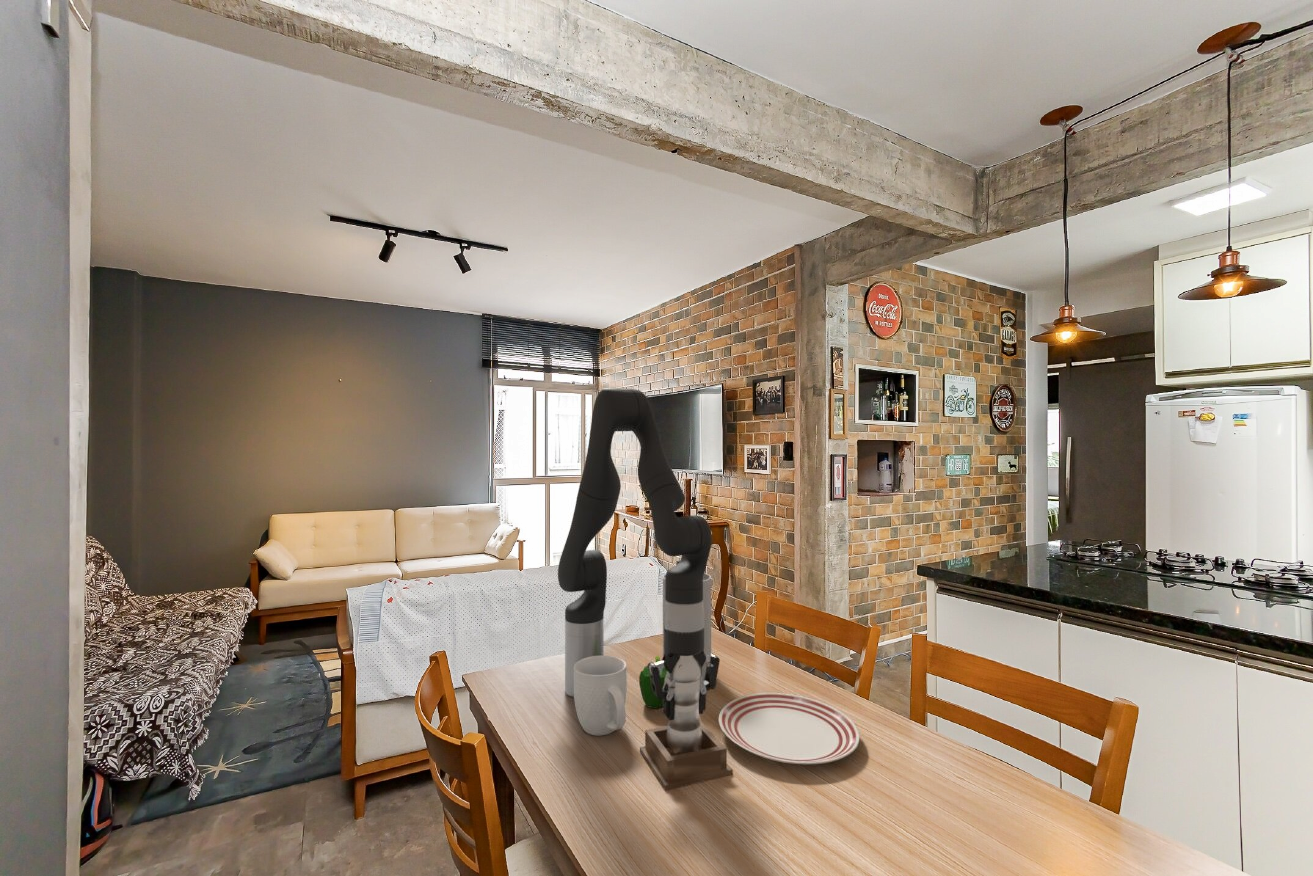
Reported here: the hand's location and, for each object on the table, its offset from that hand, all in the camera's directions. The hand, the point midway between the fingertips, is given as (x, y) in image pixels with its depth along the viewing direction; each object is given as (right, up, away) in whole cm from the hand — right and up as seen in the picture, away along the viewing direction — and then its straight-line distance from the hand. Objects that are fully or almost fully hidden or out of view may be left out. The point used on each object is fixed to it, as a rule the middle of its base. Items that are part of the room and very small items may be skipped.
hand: (684, 715), depth 104 cm
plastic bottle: (0, -7, 0) cm, 7 cm away
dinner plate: (+21, -9, +9) cm, 25 cm away
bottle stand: (0, -9, 0) cm, 9 cm away
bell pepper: (-5, -9, +24) cm, 26 cm away
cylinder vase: (+3, -10, +40) cm, 42 cm away
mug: (-16, -9, +12) cm, 22 cm away
